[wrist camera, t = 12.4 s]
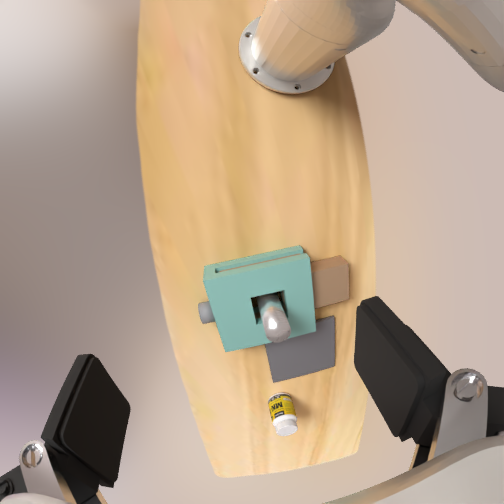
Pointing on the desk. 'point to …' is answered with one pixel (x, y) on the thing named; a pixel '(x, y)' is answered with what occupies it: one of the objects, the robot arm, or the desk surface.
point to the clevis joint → (269, 281)
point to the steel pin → (273, 317)
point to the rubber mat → (303, 352)
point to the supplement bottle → (283, 414)
